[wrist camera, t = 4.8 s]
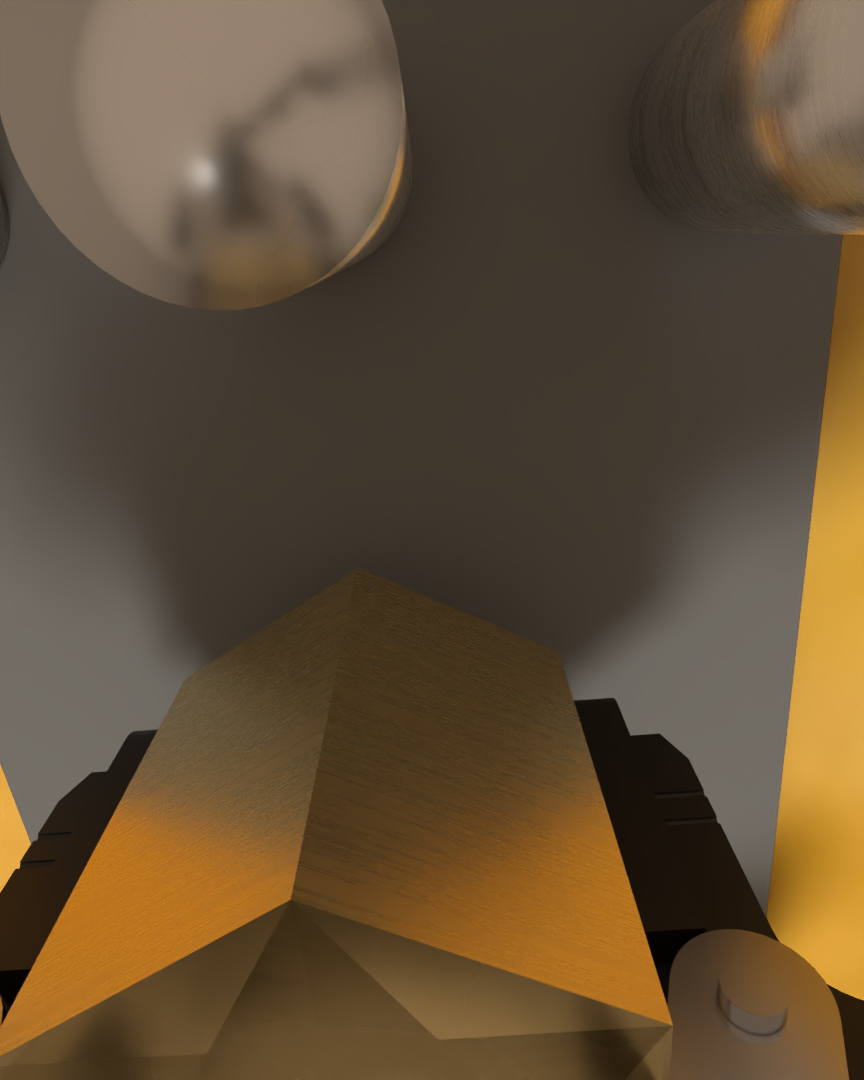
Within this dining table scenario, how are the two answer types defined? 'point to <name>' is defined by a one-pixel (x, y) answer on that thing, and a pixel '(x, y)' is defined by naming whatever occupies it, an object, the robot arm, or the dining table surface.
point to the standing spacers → (380, 132)
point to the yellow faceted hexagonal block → (354, 873)
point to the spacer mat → (433, 427)
